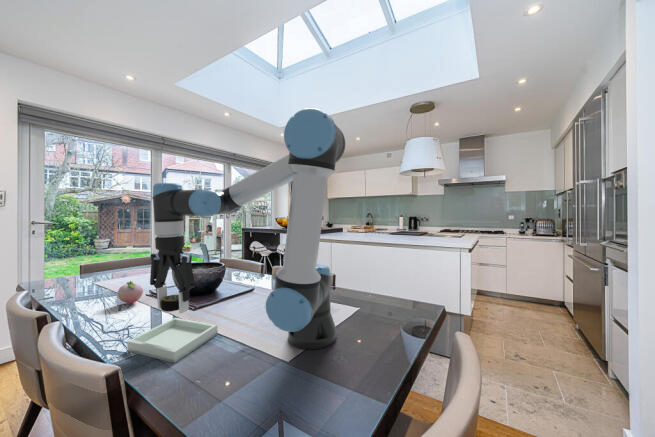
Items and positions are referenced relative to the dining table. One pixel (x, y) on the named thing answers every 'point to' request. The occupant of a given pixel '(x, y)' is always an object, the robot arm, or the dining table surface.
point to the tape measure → (170, 303)
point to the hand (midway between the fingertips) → (173, 309)
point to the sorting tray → (172, 339)
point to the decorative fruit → (130, 292)
